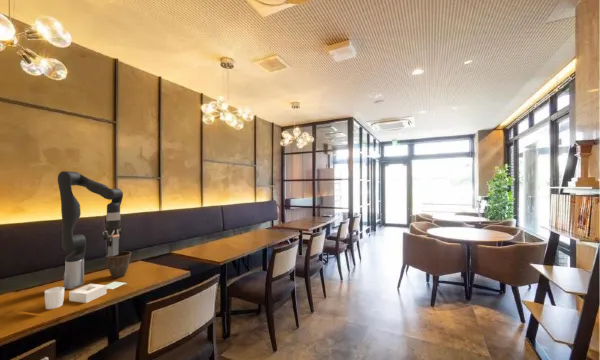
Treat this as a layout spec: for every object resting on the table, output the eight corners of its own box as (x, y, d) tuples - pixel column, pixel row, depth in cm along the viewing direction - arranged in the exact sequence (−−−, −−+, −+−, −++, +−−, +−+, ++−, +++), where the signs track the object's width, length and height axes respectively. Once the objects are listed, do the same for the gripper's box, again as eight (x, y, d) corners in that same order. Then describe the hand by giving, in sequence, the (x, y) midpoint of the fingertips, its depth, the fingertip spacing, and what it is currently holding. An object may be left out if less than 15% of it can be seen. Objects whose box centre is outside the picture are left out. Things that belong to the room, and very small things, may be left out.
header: (69, 302, 145) (69, 291, 145) (90, 293, 156) (90, 283, 156) (86, 304, 142) (86, 293, 142) (106, 295, 154) (106, 285, 154)
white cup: (41, 312, 133) (41, 293, 133) (48, 306, 140) (48, 287, 140) (60, 309, 136) (60, 291, 136) (66, 303, 144) (67, 285, 144)
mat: (99, 289, 162) (99, 287, 162) (114, 283, 172) (114, 281, 172) (112, 290, 160) (112, 289, 160) (126, 284, 170) (126, 282, 170)
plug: (106, 255, 164) (107, 235, 164) (113, 253, 168) (113, 234, 168) (112, 256, 163) (112, 236, 163) (119, 254, 167) (119, 234, 167)
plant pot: (108, 274, 188) (109, 252, 188) (132, 271, 194) (132, 250, 194) (103, 281, 175) (103, 258, 175) (128, 278, 181) (129, 255, 181)
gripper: (118, 217, 173) (118, 242, 173) (97, 220, 159) (97, 248, 159) (127, 217, 172) (127, 243, 172) (107, 221, 158) (107, 248, 158)
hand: (113, 245), depth 166 cm, fingers closed on plug, 4 cm apart
